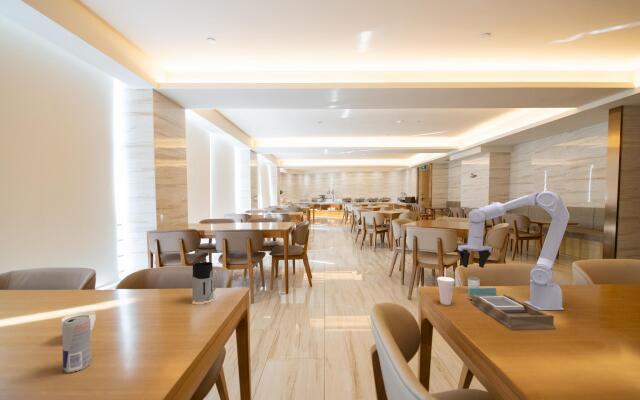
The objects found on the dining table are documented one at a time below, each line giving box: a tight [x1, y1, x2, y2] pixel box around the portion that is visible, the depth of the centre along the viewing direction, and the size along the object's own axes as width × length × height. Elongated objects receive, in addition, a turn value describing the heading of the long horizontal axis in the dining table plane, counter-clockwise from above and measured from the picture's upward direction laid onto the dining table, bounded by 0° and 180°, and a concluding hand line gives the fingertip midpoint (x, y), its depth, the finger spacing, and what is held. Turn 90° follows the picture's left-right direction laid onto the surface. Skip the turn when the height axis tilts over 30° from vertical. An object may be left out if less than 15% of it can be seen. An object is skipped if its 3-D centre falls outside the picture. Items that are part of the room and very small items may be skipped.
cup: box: [60, 310, 97, 332], centre depth 87 cm, size 8×10×7 cm
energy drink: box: [61, 315, 92, 374], centre depth 72 cm, size 5×5×12 cm
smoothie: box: [436, 267, 455, 306], centre depth 113 cm, size 6×6×14 cm
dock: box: [470, 293, 556, 331], centre depth 102 cm, size 22×15×4 cm, turn 2°
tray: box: [468, 286, 526, 313], centre depth 109 cm, size 17×11×4 cm, turn 2°
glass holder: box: [191, 261, 219, 302], centre depth 115 cm, size 9×14×15 cm, turn 54°
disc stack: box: [467, 276, 481, 292], centre depth 127 cm, size 5×5×6 cm
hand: (473, 267), depth 126 cm, fingers open, 7 cm apart
